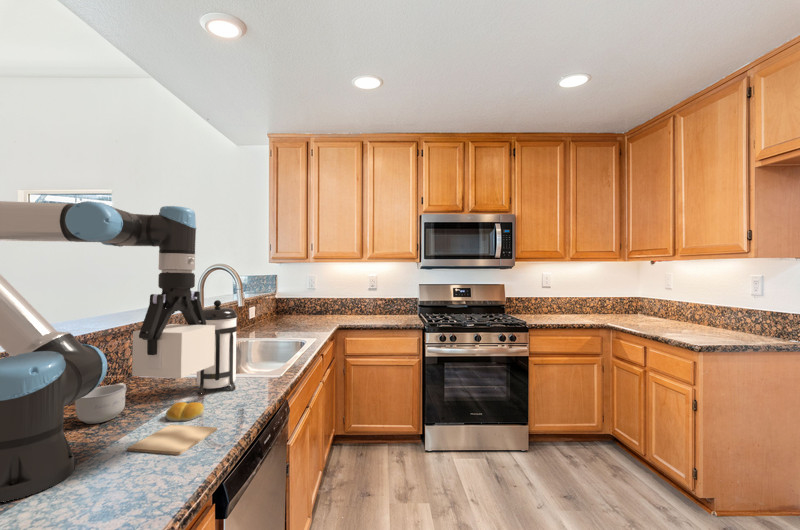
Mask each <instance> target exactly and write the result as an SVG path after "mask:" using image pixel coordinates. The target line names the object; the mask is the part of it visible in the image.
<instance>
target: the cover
mask: <svg viewBox="0 0 800 530" xmlns="http://www.w3.org/2000/svg"><path fill="white" fill-rule="evenodd" d="M140 330H141V329H138V330H134V331H132V356H131V358H132V361H131V364H132V365H131V376H132V377H145V378H146V377H149V378H150V377H151V378H163V379H164V378H167V379H169V378H170V379H182V378H185V377H188V376H191V375H192V374H193V375H194V374H195V373H196V374H197V372H198V371H201V370H203V369H206V368H208V367H211V366H213V365H214V356H215V325H188V324H185V323H184V324H183V323H181V324H180V323H168V324H166V326H165V328H164V330H163V332H162V334H161V336H160V338H159V339H160V340H162V369H160V370H156V369H148V354H147V340H143V339H142V338H139V333H140ZM146 333H148V332H146ZM154 334H155V333H154Z"/></svg>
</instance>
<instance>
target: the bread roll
mask: <svg viewBox="0 0 800 530" xmlns="http://www.w3.org/2000/svg"><path fill="white" fill-rule="evenodd" d="M204 413H205V406H204V404H203V403H201V402H198V401H197V402H196V401H195V402H193V401H192V402H189V403H187V402H185V401H177V402H175V403H174V404H172V405H171V406H170V407H169V409H167V410H166V412H165V418H166V419H167V420H168V421H170V420H171V422H180V421H183V422H187V421H192V420H195V419H197V418H199V417H201V416H202V415H204Z"/></svg>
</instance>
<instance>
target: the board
mask: <svg viewBox="0 0 800 530" xmlns="http://www.w3.org/2000/svg"><path fill="white" fill-rule="evenodd" d="M216 431H218V427H216V426H215V427H214V426H213V427H212V426H199V425H187V424H186V425H184V424H172V423H171V424H169V425H167V426H165V427H163V428H161V429H159V430H158V431H156V432H154V433H152V434H150V435H148V436H147V437H144V438H143V439H141V440H139V441H137V442H135V443H134V444H132V445H130V446H129V447H127V448H126V451H127V452H128V451H130V452H141V453H154V454H163V455H164V454H165V455H174V456H175V455H178V456H180V455H182V454H183V453H185V452H187V451H188V450H190V449H191V448H192V447H194V446H196V445H197V444H198V443H200V442H202V441H203V440H204V439H206V438H207V437H209V436H211V434H213V433H215V432H216Z"/></svg>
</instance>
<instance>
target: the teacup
mask: <svg viewBox="0 0 800 530" xmlns="http://www.w3.org/2000/svg"><path fill="white" fill-rule="evenodd" d="M126 393H127V385H126V383H124V382H120V383H117V384H109V385H102V386H101V385H100V386H97V387H96V388H95V389H94V390H93V391H91V392H90V393H89V394H88V395H86V396H84V397H82V398H79V399H77V400H75V401H74V404H75V414H76V417H77V419H78V420H79V421H81V422H83V423H85V424H88V425H93V424H100V423H104V422H108V421H111V420H113V419H115V418H116V417H118V416H119V414H120V413H122V412H123V410H124V409H125V408H126V406H125V405H126Z"/></svg>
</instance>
